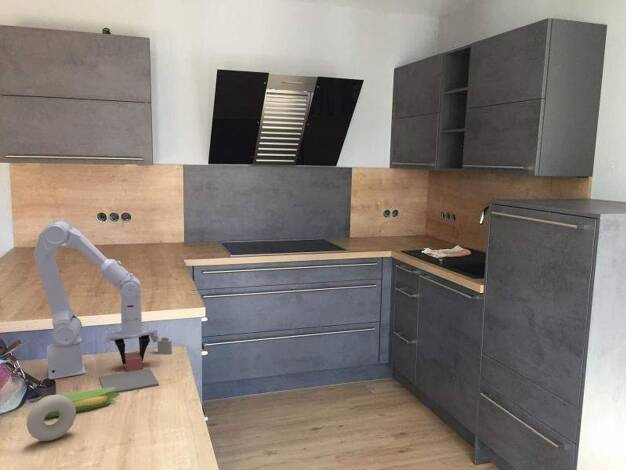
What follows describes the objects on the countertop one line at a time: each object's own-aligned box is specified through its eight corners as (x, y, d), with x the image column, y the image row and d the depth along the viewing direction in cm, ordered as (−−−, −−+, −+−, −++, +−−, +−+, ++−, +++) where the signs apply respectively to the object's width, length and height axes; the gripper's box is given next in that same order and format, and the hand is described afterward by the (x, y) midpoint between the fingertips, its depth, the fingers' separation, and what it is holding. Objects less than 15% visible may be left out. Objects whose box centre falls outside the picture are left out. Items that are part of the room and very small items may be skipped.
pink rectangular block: (126, 371, 151) (126, 360, 150) (123, 364, 156) (123, 353, 156) (142, 369, 153) (141, 358, 152) (138, 361, 158) (138, 351, 158)
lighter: (171, 352, 167) (171, 328, 166) (170, 354, 165) (169, 330, 164) (150, 351, 167) (149, 328, 166) (148, 353, 166) (148, 329, 165)
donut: (73, 428, 118) (71, 387, 117) (79, 434, 115) (77, 392, 114) (25, 444, 111) (23, 400, 110) (30, 450, 108) (28, 405, 107)
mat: (104, 395, 135) (104, 393, 135) (99, 378, 145) (99, 376, 145) (158, 385, 142) (158, 383, 142) (149, 370, 152) (149, 368, 152)
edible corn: (32, 397, 124) (32, 399, 120) (119, 383, 134) (122, 385, 130) (32, 419, 123) (33, 422, 119) (120, 404, 133) (123, 406, 130)
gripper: (107, 324, 146) (108, 370, 147) (159, 318, 153) (160, 361, 154) (103, 318, 152) (105, 362, 154) (154, 312, 159) (154, 354, 161)
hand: (132, 361), depth 154 cm, fingers closed on pink rectangular block, 4 cm apart
